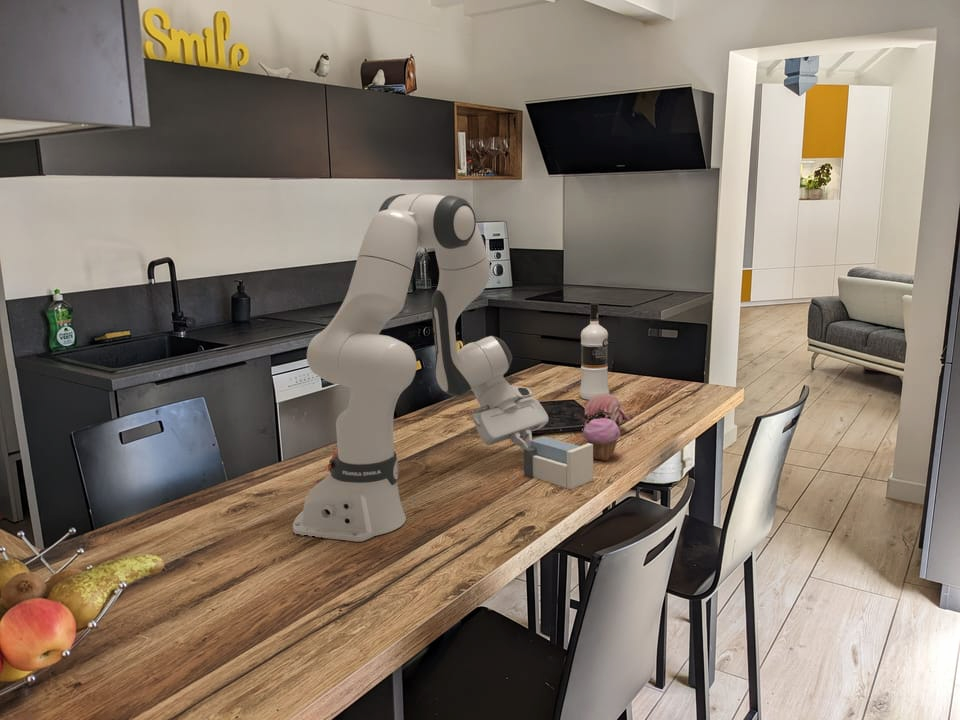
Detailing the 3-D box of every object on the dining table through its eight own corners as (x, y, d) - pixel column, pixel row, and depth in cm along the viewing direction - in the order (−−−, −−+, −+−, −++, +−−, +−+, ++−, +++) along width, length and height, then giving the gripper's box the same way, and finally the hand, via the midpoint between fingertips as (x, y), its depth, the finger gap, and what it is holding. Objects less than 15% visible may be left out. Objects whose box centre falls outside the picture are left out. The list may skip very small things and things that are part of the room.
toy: (628, 438, 201) (638, 419, 215) (615, 400, 200) (626, 383, 213) (585, 448, 206) (597, 428, 220) (572, 410, 205) (585, 393, 218)
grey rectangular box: (531, 472, 183) (530, 440, 181) (544, 467, 186) (543, 436, 184) (571, 485, 174) (570, 451, 173) (583, 479, 177) (583, 447, 176)
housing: (524, 475, 181) (523, 440, 180) (550, 465, 188) (550, 431, 186) (568, 490, 172) (568, 453, 170) (595, 479, 178) (595, 443, 176)
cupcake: (577, 459, 191) (576, 420, 189) (594, 449, 198) (594, 411, 196) (609, 466, 186) (610, 426, 184) (626, 456, 193) (626, 416, 191)
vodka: (591, 392, 254) (591, 300, 247) (615, 396, 247) (615, 302, 241) (573, 397, 247) (573, 303, 241) (597, 402, 241) (597, 306, 235)
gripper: (474, 403, 181) (505, 453, 176) (534, 386, 195) (564, 432, 190) (461, 418, 185) (491, 467, 180) (521, 401, 199) (551, 445, 194)
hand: (529, 449), depth 185 cm, fingers closed
